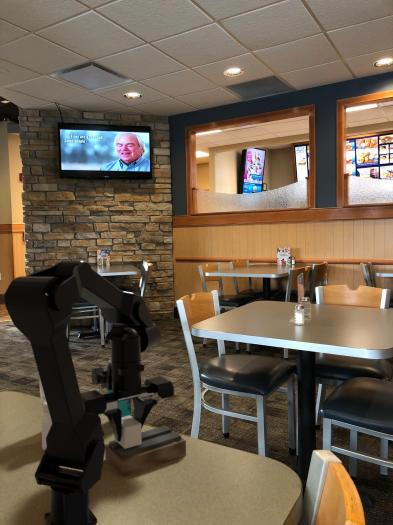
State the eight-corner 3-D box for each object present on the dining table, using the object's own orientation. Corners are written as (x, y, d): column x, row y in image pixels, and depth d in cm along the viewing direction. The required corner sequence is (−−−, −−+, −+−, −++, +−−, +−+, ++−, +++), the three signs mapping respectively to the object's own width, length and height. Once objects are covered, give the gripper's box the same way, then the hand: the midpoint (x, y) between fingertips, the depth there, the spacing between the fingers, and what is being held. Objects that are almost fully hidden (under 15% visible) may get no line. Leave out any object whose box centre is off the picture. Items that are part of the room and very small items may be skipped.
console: (165, 440, 94) (165, 423, 94) (186, 455, 88) (185, 436, 87) (105, 459, 86) (105, 440, 86) (122, 476, 80) (122, 456, 79)
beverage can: (127, 427, 101) (126, 364, 100) (104, 426, 102) (102, 363, 101) (135, 417, 107) (134, 357, 106) (113, 416, 108) (112, 357, 107)
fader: (130, 439, 88) (129, 415, 87) (141, 448, 83) (141, 423, 83) (114, 444, 86) (113, 419, 85) (125, 454, 81) (124, 428, 81)
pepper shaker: (42, 443, 93) (41, 400, 93) (62, 440, 95) (61, 397, 94) (42, 451, 90) (40, 406, 89) (62, 448, 91) (61, 404, 90)
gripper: (148, 344, 96) (150, 413, 96) (65, 358, 85) (67, 435, 86) (175, 355, 86) (176, 431, 87) (85, 371, 76) (87, 458, 77)
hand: (127, 438), depth 84 cm, fingers closed on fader, 3 cm apart
